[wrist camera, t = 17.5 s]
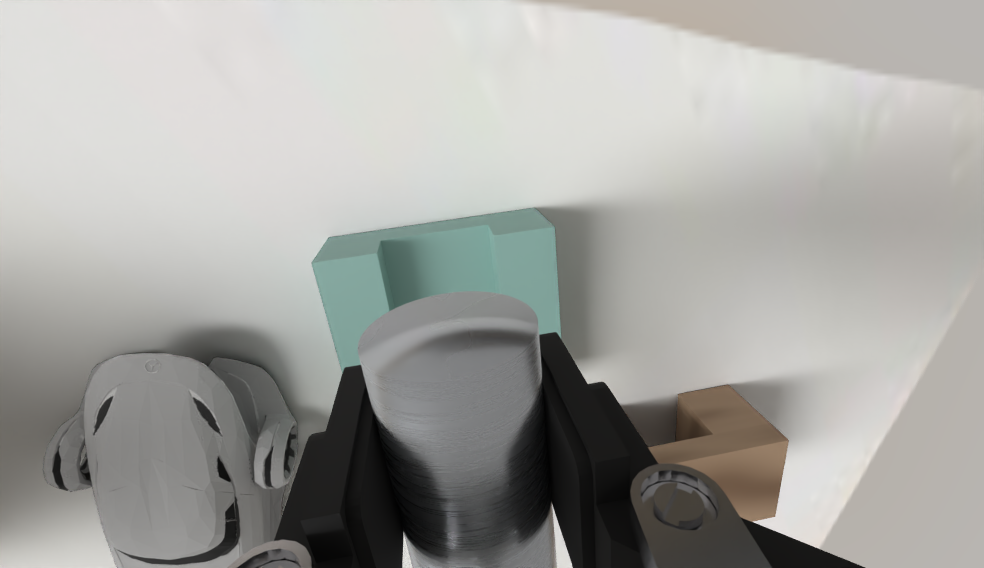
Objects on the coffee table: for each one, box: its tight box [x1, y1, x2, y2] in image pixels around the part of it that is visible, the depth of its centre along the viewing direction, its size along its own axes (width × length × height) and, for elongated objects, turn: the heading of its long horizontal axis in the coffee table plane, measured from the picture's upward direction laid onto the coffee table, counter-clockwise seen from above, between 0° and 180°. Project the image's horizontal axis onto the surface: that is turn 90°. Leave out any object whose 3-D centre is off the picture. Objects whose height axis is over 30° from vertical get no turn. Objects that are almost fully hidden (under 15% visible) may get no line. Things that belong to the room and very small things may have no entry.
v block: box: [312, 208, 561, 373], centre depth 24 cm, size 10×11×4 cm
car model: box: [43, 353, 298, 568], centre depth 26 cm, size 11×24×5 cm, turn 173°
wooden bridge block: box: [648, 385, 789, 522], centre depth 29 cm, size 6×12×6 cm, turn 96°
